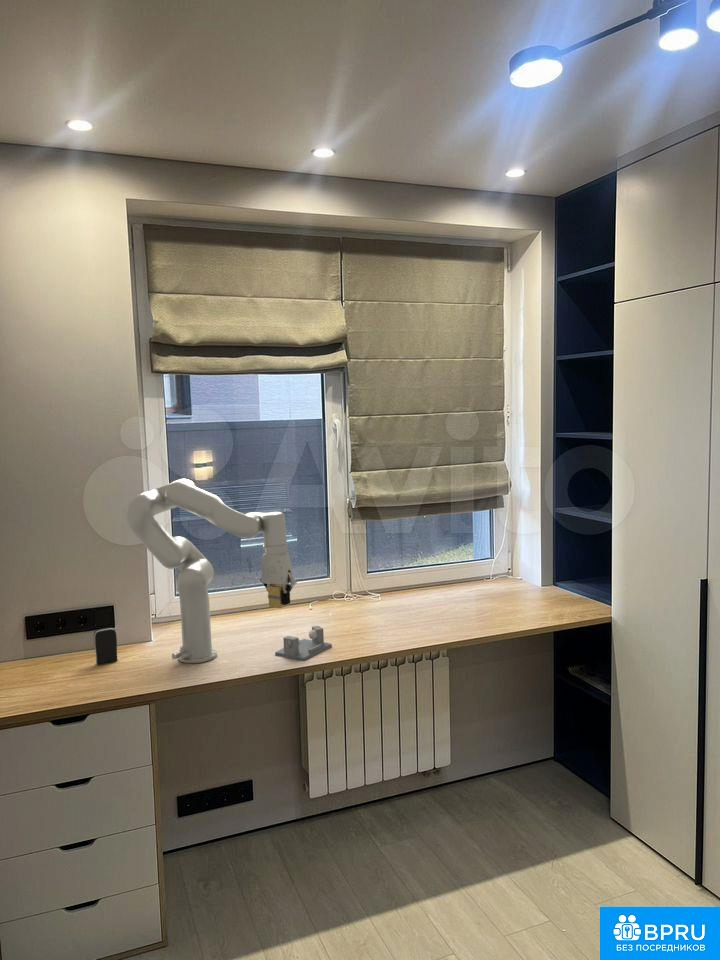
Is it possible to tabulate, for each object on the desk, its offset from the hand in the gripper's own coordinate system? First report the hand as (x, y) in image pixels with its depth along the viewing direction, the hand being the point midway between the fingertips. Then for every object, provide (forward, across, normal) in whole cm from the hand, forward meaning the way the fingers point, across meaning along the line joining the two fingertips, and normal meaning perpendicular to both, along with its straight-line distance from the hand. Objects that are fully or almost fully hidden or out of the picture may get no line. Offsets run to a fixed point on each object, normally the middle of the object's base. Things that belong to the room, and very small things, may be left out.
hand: (279, 602), depth 236 cm
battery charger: (+16, -48, -34) cm, 61 cm away
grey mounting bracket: (+18, +3, +7) cm, 20 cm away
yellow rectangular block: (+1, 0, 0) cm, 1 cm away
